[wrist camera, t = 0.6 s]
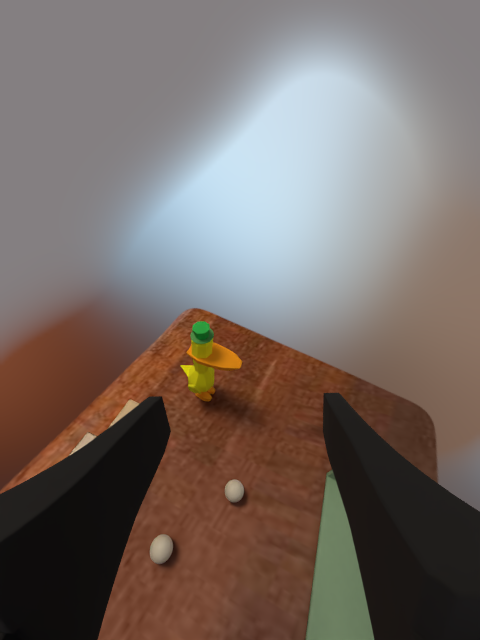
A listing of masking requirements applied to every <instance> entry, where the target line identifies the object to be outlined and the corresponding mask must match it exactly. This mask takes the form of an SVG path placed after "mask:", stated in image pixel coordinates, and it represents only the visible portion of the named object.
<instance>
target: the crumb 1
mask: <svg viewBox="0 0 480 640" xmlns="http://www.w3.org/2000/svg"><path fill="white" fill-rule="evenodd" d="M172 550H173V543H172V540H171V538H170V537H169V536H168V535H165V534H162V535H159V536H157V537H156V538H155V539H154V541H153V542H152V544H151V547H150V557H151V559H152V561H153V562H155V563H157V564H162V563H164V562H166V561H167V560H168V559H169V557H170V556H171V553H172Z"/></svg>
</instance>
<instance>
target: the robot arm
mask: <svg viewBox="0 0 480 640" xmlns="http://www.w3.org/2000/svg"><path fill="white" fill-rule="evenodd" d="M170 432H171V430H170V426H169V423H168V419H167V415H166V411H165V407H164V403H163V399H162V397H148V398H147V399H146V400H144V401H143V402H142V403H140V404H139V405H138V406H136V407H135V408H134V409H133V410H131V411H130V412H129V413H128V414H126V415H125V416H124V417H122V418H121V419H120V420H119V421H117V422H116V423H115V424H113V425H112V426H111V427H110V428H108V429H107V430H106V431H104V432H103V433H101V434H100V435H99V436H97V437H96V438H95V439H93V440H92V441H90V442H89V443H88V444H86V445H85V446H83V447H82V448H80V449H79V450H77V451H76V452H74V453H73V454H71V455H70V456H68V457H67V458H65V459H63V460H62V461H60V462H59V463H57V464H55V465H54V466H52V467H50V468H48V469H46V470H45V471H43V472H41V473H39V474H38V475H36V476H34V477H32V478H30V479H29V480H27V481H25V482H23V483H21V484H19V485H17V486H15V487H14V488H12V489H10V490H8V491H6V492H4V493H2V494H0V640H97V639H98V636H99V632H100V628H101V625H102V621H103V618H104V614H105V611H106V607H107V604H108V601H109V597H110V594H111V591H112V587H113V584H114V581H115V577H116V574H117V571H118V568H119V565H120V562H121V559H122V556H123V553H124V550H125V547H126V544H127V541H128V538H129V535H130V532H131V529H132V527H133V524H134V521H135V518H136V516H137V513H138V511H139V508H140V506H141V504H142V501H143V499H144V497H145V495H146V492H147V490H148V488H149V486H150V484H151V481H152V479H153V477H154V475H155V473H156V470H157V468H158V466H159V464H160V461H161V459H162V457H163V454H164V452H165V449H166V446H167V442H168V439H169V436H170ZM323 433H324V438H325V444H326V449H327V453H328V457H329V460H330V464H331V467H332V470H333V473H334V476H335V480H336V483H337V486H338V489H339V492H340V495H341V499H342V502H343V505H344V508H345V511H346V514H347V518H348V522H349V525H350V529H351V534H352V538H353V542H354V547H355V551H356V556H357V560H358V564H359V569H360V574H361V578H362V583H363V587H364V592H365V597H366V601H367V606H368V611H369V616H370V621H371V626H372V630H373V635H374V640H480V512H479V511H478V510H476V509H474V508H473V507H471V506H470V505H468V504H467V503H465V502H464V501H462V500H461V499H459V498H458V497H456V496H455V495H453V494H452V493H450V492H449V491H448V490H446V489H445V488H443V487H442V486H441V485H439V484H438V483H436V482H435V481H433V480H432V479H431V478H429V477H428V476H427V475H425V474H424V473H423V472H421V471H420V470H419V469H417V468H416V467H415V466H414V465H412V464H411V463H410V462H409V461H407V460H406V459H405V458H404V457H402V456H401V455H400V454H399V453H398V452H397V451H395V450H394V449H393V448H392V447H391V446H390V445H389V444H388V443H387V442H386V441H384V440H383V439H382V438H381V437H380V436H379V435H378V434H377V433H376V432H375V431H374V430H373V429H372V428H371V427H370V426H369V425H368V424H367V423H366V422H365V421H364V420H363V419H362V418H361V417H360V416H359V415H358V414H357V412H356V411H355V410H354V409H353V408H352V407H351V406H350V405H349V404H348V402H347V401H346V400H345V399H344V398H343V397H342V396H341V395H340V394H339V393H324V403H323Z"/></svg>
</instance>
